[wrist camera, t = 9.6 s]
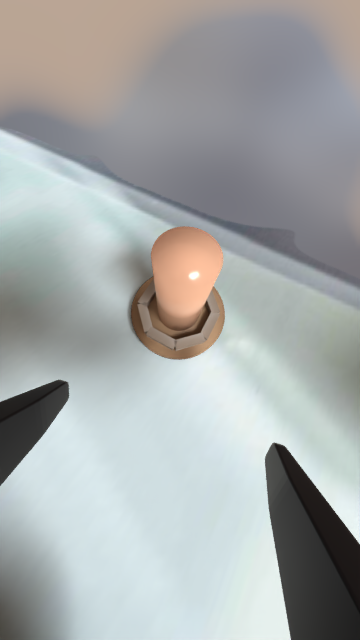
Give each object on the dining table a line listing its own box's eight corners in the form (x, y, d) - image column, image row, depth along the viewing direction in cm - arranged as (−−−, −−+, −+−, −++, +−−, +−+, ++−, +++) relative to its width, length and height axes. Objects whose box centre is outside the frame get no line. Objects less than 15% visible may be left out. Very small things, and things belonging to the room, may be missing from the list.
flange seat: (144, 371, 22) (142, 370, 20) (124, 285, 25) (120, 277, 23) (235, 344, 23) (241, 341, 21) (205, 266, 26) (208, 257, 24)
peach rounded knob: (192, 336, 22) (213, 297, 12) (152, 323, 22) (140, 274, 12) (203, 299, 24) (230, 238, 14) (165, 287, 24) (164, 218, 14)
